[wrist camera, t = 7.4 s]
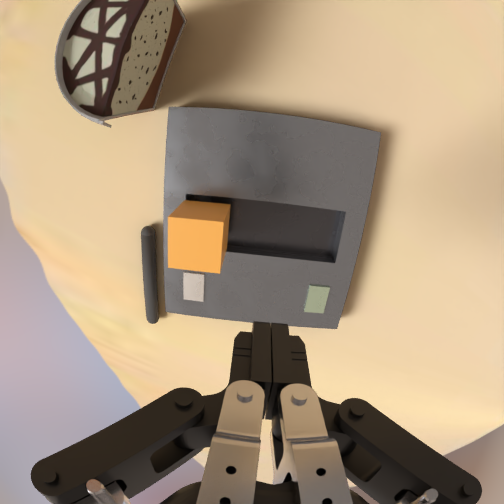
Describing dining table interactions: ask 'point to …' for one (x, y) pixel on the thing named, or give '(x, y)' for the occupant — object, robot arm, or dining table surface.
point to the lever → (198, 236)
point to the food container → (116, 55)
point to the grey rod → (149, 273)
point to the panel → (270, 212)
